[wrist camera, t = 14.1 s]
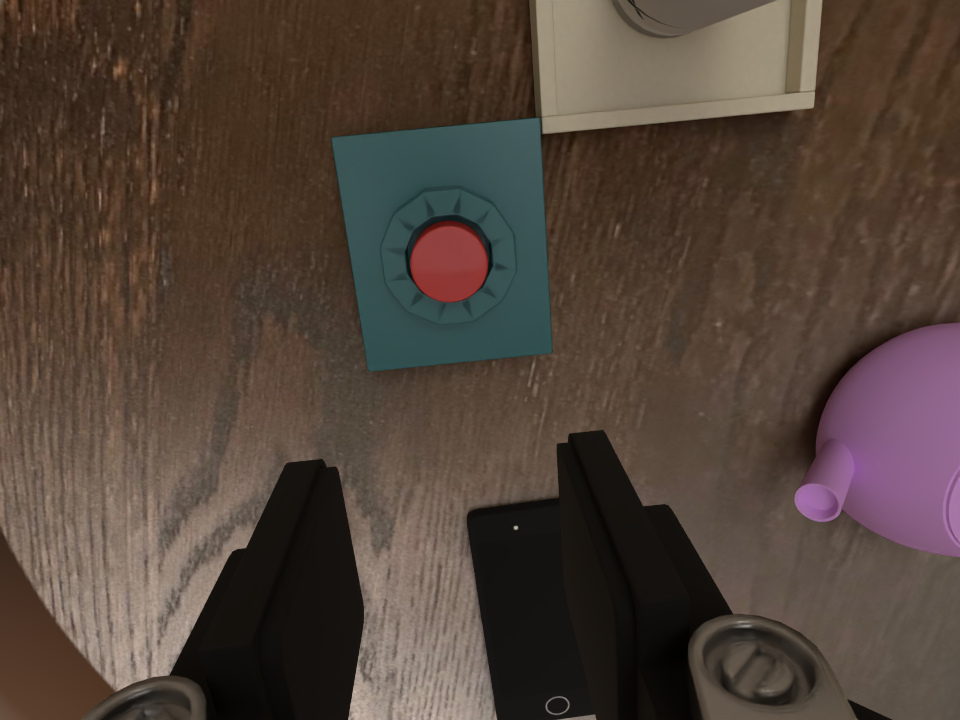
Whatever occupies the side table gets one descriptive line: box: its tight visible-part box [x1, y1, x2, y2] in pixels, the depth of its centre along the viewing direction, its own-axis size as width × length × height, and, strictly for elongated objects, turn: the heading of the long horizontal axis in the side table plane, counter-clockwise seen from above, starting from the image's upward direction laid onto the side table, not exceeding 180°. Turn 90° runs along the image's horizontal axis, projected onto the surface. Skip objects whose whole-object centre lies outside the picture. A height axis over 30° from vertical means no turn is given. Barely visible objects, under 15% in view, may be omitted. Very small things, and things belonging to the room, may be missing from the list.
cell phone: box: [467, 498, 595, 720], centre depth 44 cm, size 9×18×1 cm, turn 7°
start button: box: [410, 221, 488, 302], centre depth 31 cm, size 4×4×2 cm
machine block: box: [331, 117, 553, 372], centre depth 34 cm, size 12×10×5 cm
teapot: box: [795, 323, 960, 557], centre depth 36 cm, size 14×20×11 cm
